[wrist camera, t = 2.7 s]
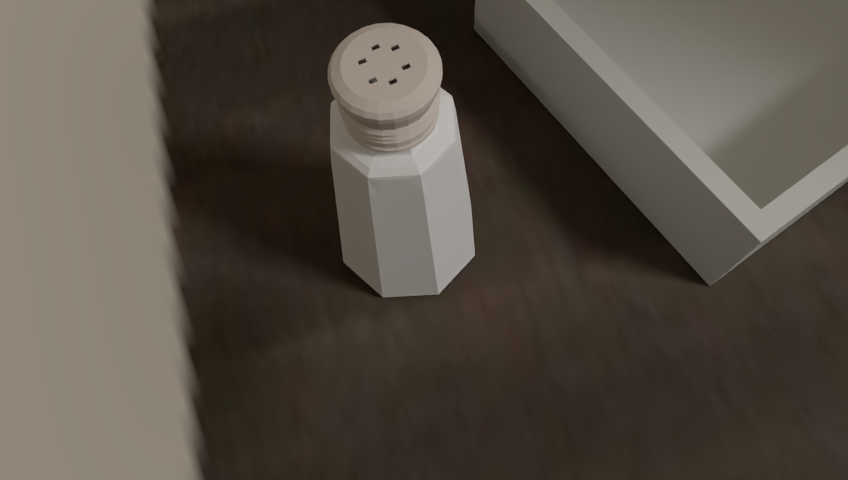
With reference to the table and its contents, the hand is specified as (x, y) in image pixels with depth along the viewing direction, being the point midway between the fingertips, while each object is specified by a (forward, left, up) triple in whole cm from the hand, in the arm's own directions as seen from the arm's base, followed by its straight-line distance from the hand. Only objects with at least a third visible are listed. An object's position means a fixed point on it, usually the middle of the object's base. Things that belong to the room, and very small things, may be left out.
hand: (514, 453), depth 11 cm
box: (-19, -8, -13) cm, 24 cm away
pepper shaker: (-3, -9, -14) cm, 17 cm away
